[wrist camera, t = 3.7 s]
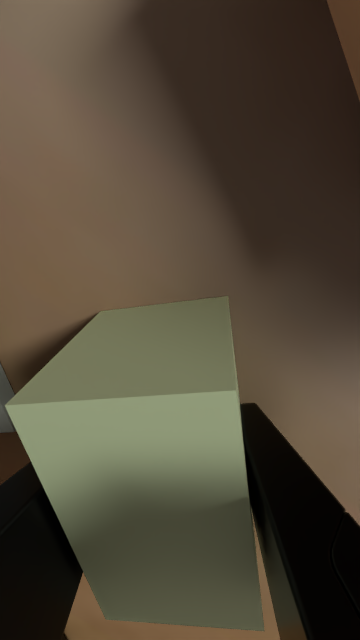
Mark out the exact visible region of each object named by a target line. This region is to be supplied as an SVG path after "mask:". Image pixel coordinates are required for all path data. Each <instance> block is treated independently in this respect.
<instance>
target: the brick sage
mask: <svg viewBox="0 0 360 640" xmlns="http://www.w3.org/2000/svg"><path fill="white" fill-rule="evenodd" d="M5 407H6V410H7V412H8V414H9V416H10V418H11V420H12V422H13V424H14V426H15V429H16V431H17V433H18V435H19V437H20V439H21V441H22V443H23V445H24V448H25V450H26V452H27V454H28V456H29V458H30V460H31V462H32V464H33V467H34V469H35V471H36V473H37V475H38V477H39V479H40V481H41V483H42V486H43V488H44V490H45V492H46V494H47V496H48V498H49V500H50V502H51V505H52V507H53V509H54V511H55V513H56V515H57V517H58V519H59V521H60V524H61V526H62V528H63V530H64V532H65V534H66V536H67V538H68V541H69V543H70V545H71V547H72V549H73V551H74V553H75V555H76V557H77V560H78V562H79V564H80V566H81V568H82V570H83V572H84V574H85V576H86V579H87V581H88V583H89V585H90V587H91V589H92V591H93V593H94V595H95V598H96V600H97V602H98V604H99V606H100V608H101V610H102V612H103V614H104V617H105V619H107V620H120V621H134V622H147V623H161V624H174V625H187V626H201V627H214V628H228V629H241V630H255V631H264V623H263V613H262V604H261V594H260V584H259V575H258V565H257V556H256V546H255V536H254V527H253V517H252V509H251V503H250V495H249V486H248V477H247V468H246V460H245V451H244V442H243V432H242V422H241V411H240V398H239V389H238V381H237V372H236V363H235V354H234V345H233V336H232V327H231V318H230V310H229V301H228V296H223V297H214V298H206V299H198V300H190V301H181V302H173V303H165V304H156V305H148V306H140V307H132V308H123V309H115V310H107V311H100V312H99V313H98V314H97V315H96V316H95V317H94V318H93V319H92V320H91V321H90V322H89V323H88V324H87V325H86V326H85V327H84V328H83V329H82V330H81V331H80V332H79V333H78V334H77V335H76V336H75V337H74V338H73V339H72V340H71V341H70V342H69V343H68V344H67V345H66V346H65V347H64V348H63V349H62V350H61V351H60V352H59V353H58V354H57V355H56V356H54V357H53V358H52V359H51V360H50V361H49V362H48V363H47V364H46V365H45V366H44V367H43V368H42V369H41V370H40V371H39V372H38V373H37V374H36V375H35V376H34V377H33V378H32V379H31V380H30V381H29V382H28V383H27V384H26V385H25V386H24V387H23V388H22V389H21V390H20V391H19V392H18V393H17V394H16V395H15V396H14V397H13V398H12V399H11V400H10V401H9V402H8V403H7V404H6V405H5Z"/></svg>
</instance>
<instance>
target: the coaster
mask: <svg viewBox="0 0 360 640" xmlns="http://www.w3.org/2000/svg"><path fill="white" fill-rule="evenodd" d="M14 396H15V394H14V392H13V390H12V388H11V386H10V383H9V381H8V379H7V377H6V375H5V372H4V370H3V368H2V366H1V363H0V433H4V432H15V431H16V429H15V426H14V424H13V422H12V420H11V418H10V416H9V414H8V412H7V410H6V407H5V405H6V404H7V403H8V402H9V401H10V400H11V399H12V398H13V397H14Z"/></svg>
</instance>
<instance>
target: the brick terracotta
mask: <svg viewBox="0 0 360 640" xmlns="http://www.w3.org/2000/svg"><path fill="white" fill-rule="evenodd" d="M327 3H328V6H329V9H330V12H331V15H332V18H333V21H334V24H335V27H336V30H337V33H338V36H339V40H340V43H341V46H342V49H343V52H344V55H345V58H346V61H347V64H348V67H349V70H350V73H351V76H352V79H353V82H354V85H355V88H356V91H357V95H358V98H359V101H360V0H327Z"/></svg>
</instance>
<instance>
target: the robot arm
mask: <svg viewBox="0 0 360 640" xmlns="http://www.w3.org/2000/svg"><path fill="white" fill-rule="evenodd" d="M240 411H241V422H242V432H243V442H244V451H245V460H246V468H247V477H248V486H249V495H250V503H251V509H252V513H253V518H254V522H255V527H256V531H257V536H258V540H259V545H260V549H261V554H262V558H263V563H264V567H265V572H266V577H267V581H268V586H269V590H270V595H271V599H272V604H273V608H274V613H275V617H276V622H277V626H278V631H279V635H280V640H360V526H359V525H358V523H357V522H356V521H355V520H354V519H353V517H352V516H351V515H350V514H349V513H348V512H345V508H344V507H343V506H342V505H341V504H340V502H339V501H338V500H337V499H336V498H335V496H334V495H333V494H332V493H331V492H330V491H329V489H328V488H327V487H326V486H325V485H324V483H323V482H322V481H321V480H320V479H319V478H318V476H317V475H316V474H315V473H314V472H313V470H312V469H311V468H310V467H309V466H308V465H307V463H306V462H305V461H304V460H303V459H302V457H301V456H300V455H299V454H298V453H297V452H296V450H295V449H294V448H293V447H292V446H291V445H290V443H289V442H288V441H287V440H286V439H285V437H284V436H283V435H282V434H281V433H280V432H279V430H278V429H277V428H276V427H275V426H274V424H273V423H272V422H271V421H270V420H269V419H268V417H267V416H266V415H265V414H264V413H263V411H262V410H261V409H260V408H259V407H258V406H257V404H255V403H242V404H240ZM82 574H83V570H82V568H81V566H80V564H79V562H78V560H77V557H76V555H75V553H74V551H73V549H72V547H71V545H70V543H69V541H68V538H67V536H66V534H65V532H64V530H63V528H62V526H61V524H60V521H59V519H58V517H57V515H56V513H55V511H54V509H53V507H52V505H51V502H50V500H49V498H48V496H47V494H46V492H45V490H44V488H43V486H42V483H41V481H40V479H39V477H38V475H37V473H36V471H35V469H34V467H33V464H32V462H30V463H29V464H27V465H26V466H25V467H23V468H22V469H21V470H19V471H18V472H17V473H16V474H14V475H13V476H12V477H10V478H9V479H8V480H6V481H5V482H4V483H2V484H1V485H0V640H66V638H65V637H64V635H63V633H64V630H65V627H66V624H67V620H68V617H69V614H70V611H71V608H72V605H73V602H74V599H75V595H76V592H77V589H78V586H79V583H80V580H81V577H82Z"/></svg>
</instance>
